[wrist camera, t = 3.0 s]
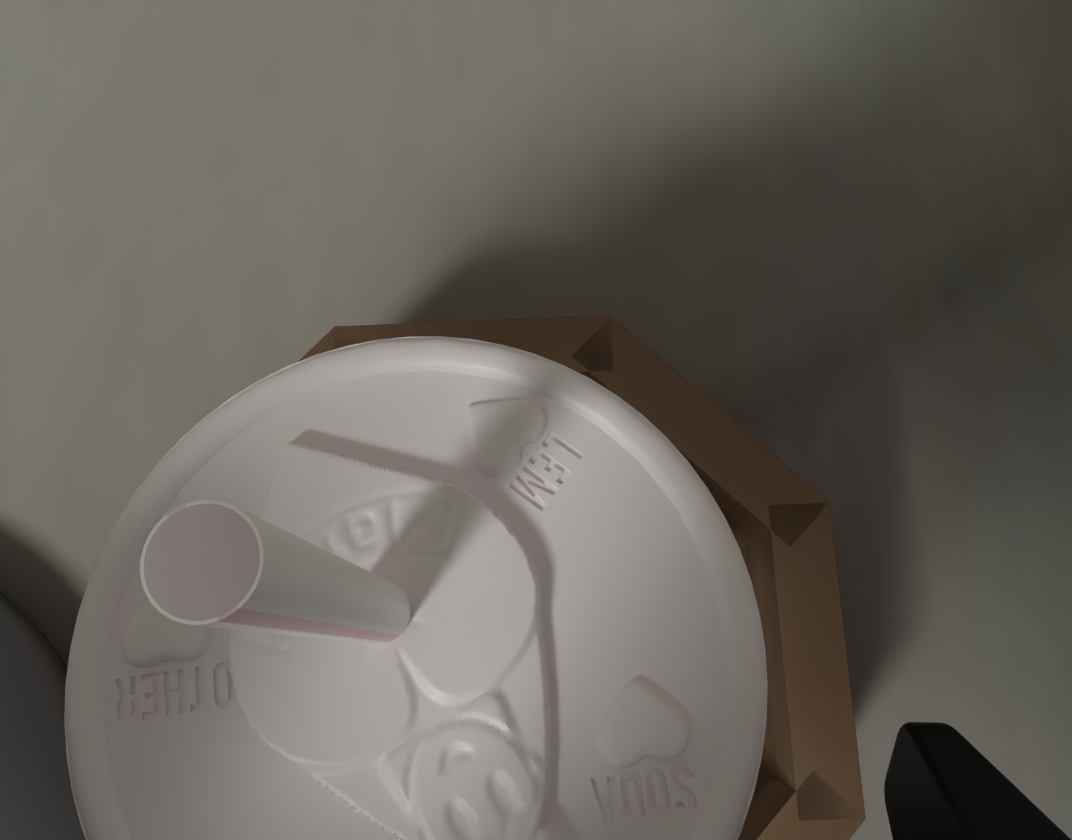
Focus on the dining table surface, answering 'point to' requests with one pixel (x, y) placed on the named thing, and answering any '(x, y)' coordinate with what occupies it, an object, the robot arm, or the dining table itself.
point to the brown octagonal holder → (766, 546)
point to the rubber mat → (32, 735)
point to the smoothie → (418, 618)
